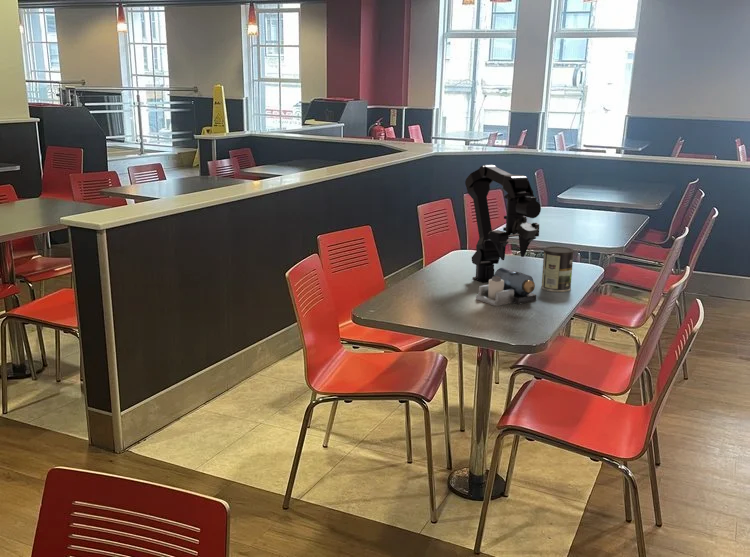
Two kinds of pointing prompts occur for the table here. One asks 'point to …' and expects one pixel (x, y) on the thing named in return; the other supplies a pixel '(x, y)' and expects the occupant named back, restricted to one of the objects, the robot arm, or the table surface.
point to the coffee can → (557, 269)
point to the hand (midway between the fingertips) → (512, 258)
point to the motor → (510, 289)
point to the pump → (495, 286)
